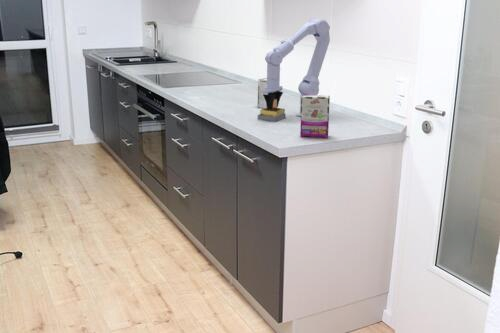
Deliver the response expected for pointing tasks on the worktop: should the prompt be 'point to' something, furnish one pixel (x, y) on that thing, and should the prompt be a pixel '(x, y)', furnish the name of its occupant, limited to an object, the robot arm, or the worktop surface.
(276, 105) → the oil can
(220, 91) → the worktop surface
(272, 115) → the square open tray
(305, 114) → the candy bar box
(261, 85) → the syrup box
